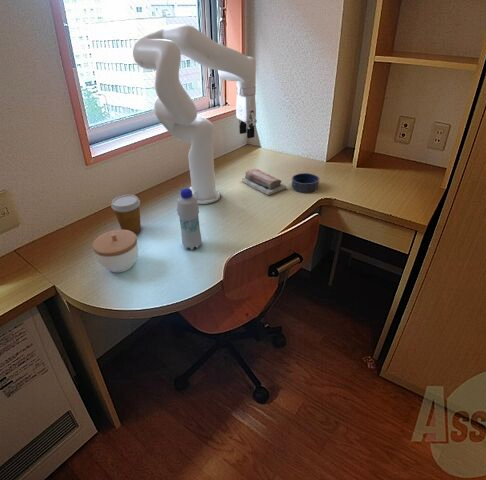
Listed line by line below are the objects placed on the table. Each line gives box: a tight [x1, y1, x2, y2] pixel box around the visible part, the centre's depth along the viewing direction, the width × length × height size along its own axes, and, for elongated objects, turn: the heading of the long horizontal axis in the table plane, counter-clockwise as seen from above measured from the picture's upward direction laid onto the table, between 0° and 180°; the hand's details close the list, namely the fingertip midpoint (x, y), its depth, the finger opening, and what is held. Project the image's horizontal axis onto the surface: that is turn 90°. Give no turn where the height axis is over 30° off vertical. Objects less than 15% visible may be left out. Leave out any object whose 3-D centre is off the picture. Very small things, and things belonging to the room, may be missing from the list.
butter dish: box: [241, 168, 287, 196], centre depth 150 cm, size 18×5×10 cm
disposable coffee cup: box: [110, 194, 142, 235], centre depth 122 cm, size 10×10×12 cm
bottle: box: [176, 188, 203, 251], centre depth 110 cm, size 7×7×20 cm
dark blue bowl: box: [291, 172, 320, 194], centre depth 147 cm, size 11×11×4 cm
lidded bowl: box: [92, 229, 139, 274], centre depth 106 cm, size 13×13×11 cm
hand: (246, 135), depth 153 cm, fingers open, 6 cm apart
